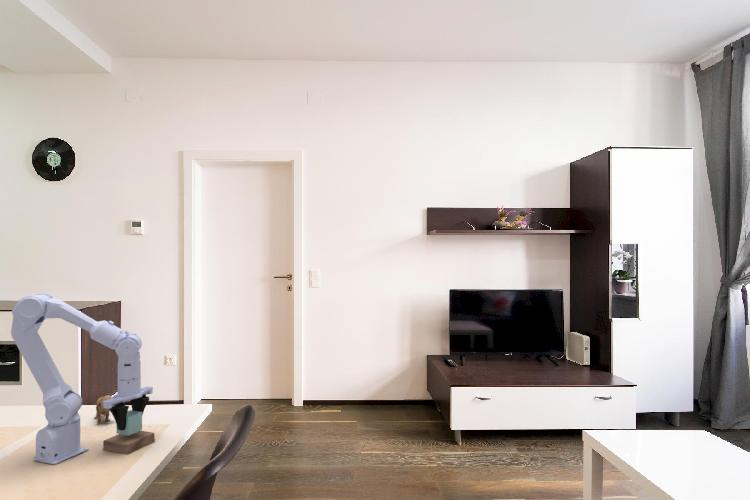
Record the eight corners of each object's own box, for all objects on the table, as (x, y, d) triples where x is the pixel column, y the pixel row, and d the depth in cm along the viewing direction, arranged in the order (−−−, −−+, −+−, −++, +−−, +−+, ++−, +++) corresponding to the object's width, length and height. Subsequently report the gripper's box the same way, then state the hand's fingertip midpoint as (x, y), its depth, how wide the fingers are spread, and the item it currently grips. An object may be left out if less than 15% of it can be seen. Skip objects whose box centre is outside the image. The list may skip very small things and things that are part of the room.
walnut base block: (127, 454, 121) (127, 445, 121) (103, 449, 124) (103, 440, 124) (154, 441, 130) (154, 432, 130) (131, 437, 133) (131, 428, 133)
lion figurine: (118, 423, 144) (118, 395, 145) (99, 427, 141) (99, 398, 141) (106, 412, 155) (106, 386, 155) (88, 416, 151) (88, 389, 151)
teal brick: (128, 435, 124) (128, 417, 124) (116, 433, 126) (116, 415, 126) (142, 429, 128) (142, 411, 128) (130, 427, 130) (130, 410, 130)
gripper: (117, 386, 119) (117, 437, 119) (160, 372, 133) (160, 419, 132) (97, 383, 121) (97, 434, 121) (142, 371, 135) (142, 416, 135)
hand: (129, 426), depth 127 cm, fingers closed on teal brick, 4 cm apart
